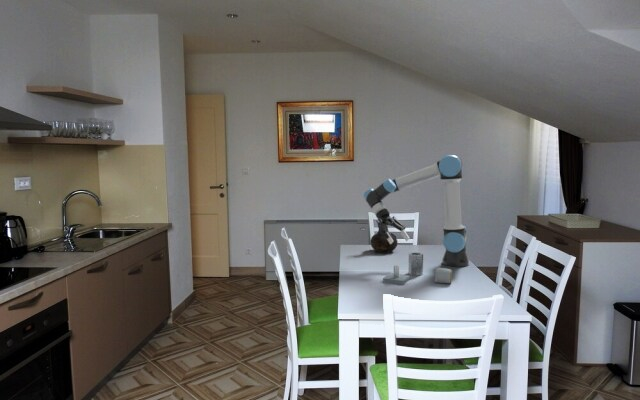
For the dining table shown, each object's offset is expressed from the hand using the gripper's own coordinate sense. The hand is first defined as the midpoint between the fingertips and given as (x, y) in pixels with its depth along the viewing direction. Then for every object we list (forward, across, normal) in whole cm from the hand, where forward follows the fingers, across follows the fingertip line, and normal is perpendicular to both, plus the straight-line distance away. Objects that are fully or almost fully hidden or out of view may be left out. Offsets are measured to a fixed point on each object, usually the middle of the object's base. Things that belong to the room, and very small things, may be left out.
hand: (400, 241), depth 256 cm
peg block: (+21, +18, -2) cm, 28 cm away
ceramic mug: (+33, +2, +10) cm, 35 cm away
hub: (+20, 0, -4) cm, 20 cm away
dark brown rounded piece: (-16, -29, -40) cm, 51 cm away
